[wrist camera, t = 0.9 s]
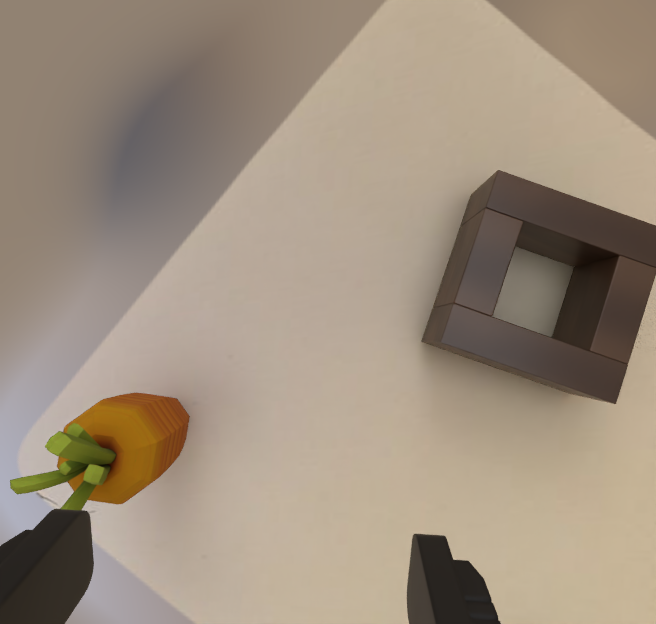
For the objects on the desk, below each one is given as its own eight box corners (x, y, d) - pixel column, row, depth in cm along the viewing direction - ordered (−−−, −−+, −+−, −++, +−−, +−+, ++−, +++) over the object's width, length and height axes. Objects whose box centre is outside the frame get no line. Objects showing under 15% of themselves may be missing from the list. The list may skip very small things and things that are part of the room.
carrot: (188, 464, 32) (74, 579, 17) (126, 427, 32) (-42, 508, 17) (226, 402, 32) (148, 461, 17) (165, 365, 32) (34, 391, 17)
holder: (470, 194, 33) (498, 169, 28) (617, 245, 33) (670, 230, 28) (421, 341, 33) (440, 342, 28) (570, 393, 33) (616, 404, 28)
